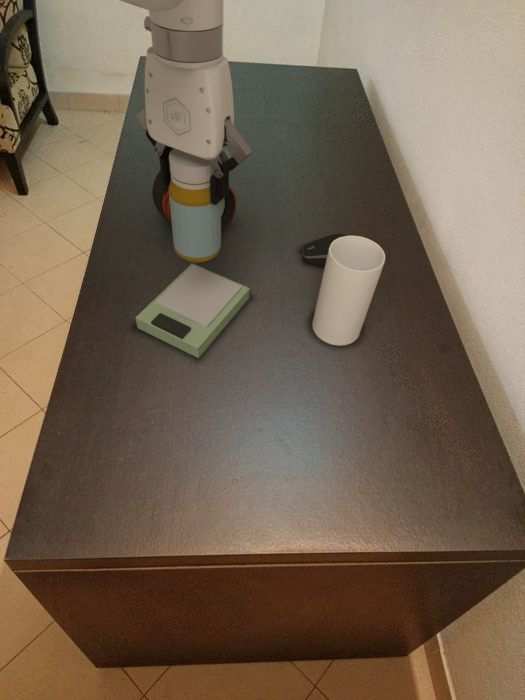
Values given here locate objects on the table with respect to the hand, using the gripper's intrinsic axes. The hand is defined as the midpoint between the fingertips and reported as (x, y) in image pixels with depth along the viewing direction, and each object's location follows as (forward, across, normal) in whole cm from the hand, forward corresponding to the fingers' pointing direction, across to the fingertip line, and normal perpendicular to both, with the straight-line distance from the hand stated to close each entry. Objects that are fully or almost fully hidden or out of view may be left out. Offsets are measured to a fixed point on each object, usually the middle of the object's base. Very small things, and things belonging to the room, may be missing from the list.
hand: (194, 189), depth 63 cm
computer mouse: (+23, +14, +26) cm, 37 cm away
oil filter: (+23, -14, +19) cm, 33 cm away
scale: (+23, 0, -1) cm, 23 cm away
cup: (+23, +22, +9) cm, 33 cm away
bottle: (+10, 0, 0) cm, 10 cm away
